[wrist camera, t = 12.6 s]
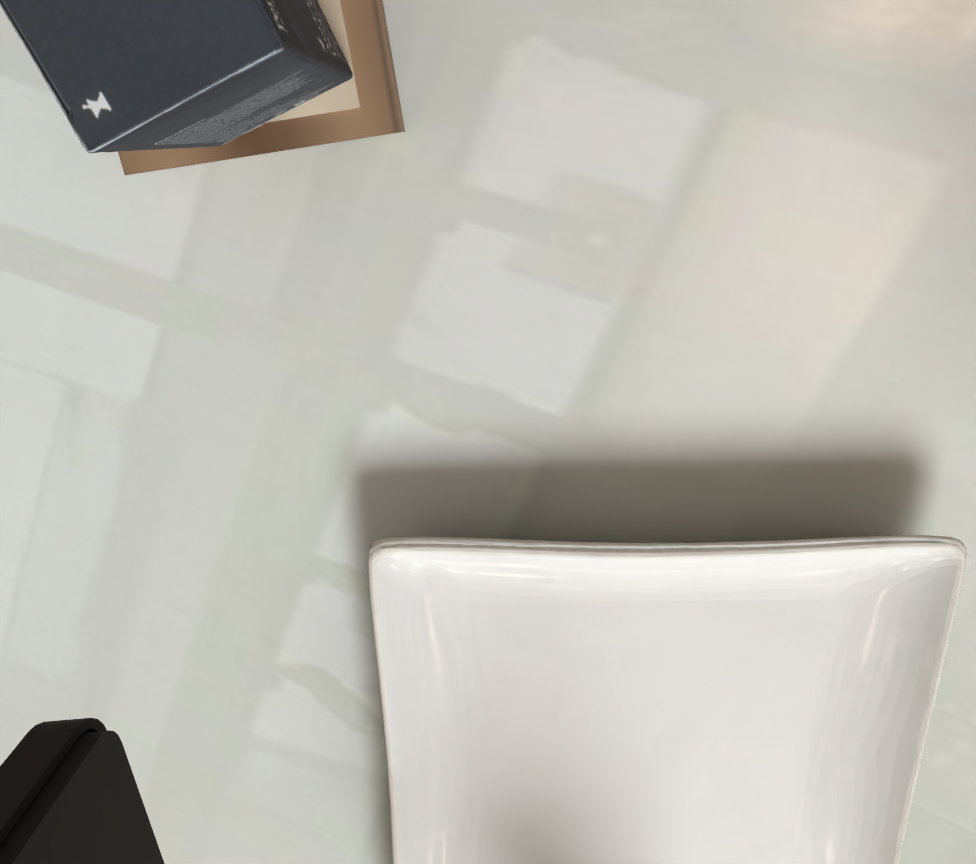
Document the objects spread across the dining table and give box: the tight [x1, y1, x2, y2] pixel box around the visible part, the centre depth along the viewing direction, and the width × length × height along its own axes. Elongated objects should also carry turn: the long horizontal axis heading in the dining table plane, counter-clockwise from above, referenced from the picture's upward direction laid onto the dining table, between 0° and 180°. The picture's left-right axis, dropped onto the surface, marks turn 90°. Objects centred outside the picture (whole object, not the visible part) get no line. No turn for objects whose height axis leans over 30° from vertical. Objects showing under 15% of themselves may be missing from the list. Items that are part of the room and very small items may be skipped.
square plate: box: [368, 535, 967, 864], centre depth 42 cm, size 27×27×4 cm
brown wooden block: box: [118, 0, 405, 175], centre depth 29 cm, size 10×10×4 cm
